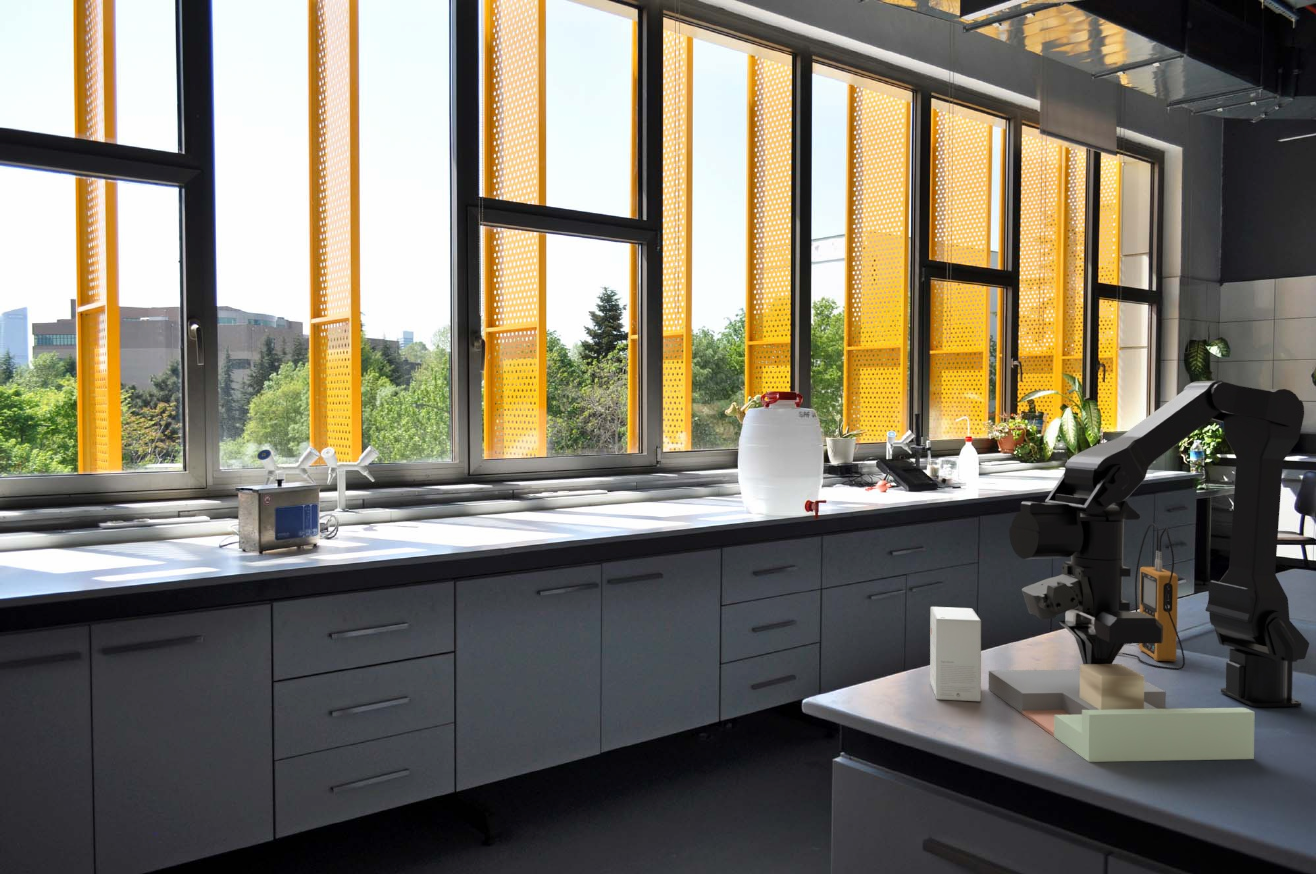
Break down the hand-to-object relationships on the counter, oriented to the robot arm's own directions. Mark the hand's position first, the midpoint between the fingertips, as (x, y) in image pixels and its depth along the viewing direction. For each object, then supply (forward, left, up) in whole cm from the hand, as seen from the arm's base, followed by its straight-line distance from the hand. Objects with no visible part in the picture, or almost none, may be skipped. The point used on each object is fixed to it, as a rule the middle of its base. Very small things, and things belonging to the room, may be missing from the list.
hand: (1094, 683), depth 112 cm
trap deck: (0, +2, -4) cm, 4 cm away
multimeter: (-20, -26, -4) cm, 33 cm away
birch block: (0, +4, -1) cm, 4 cm away
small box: (+14, -9, -4) cm, 17 cm away
